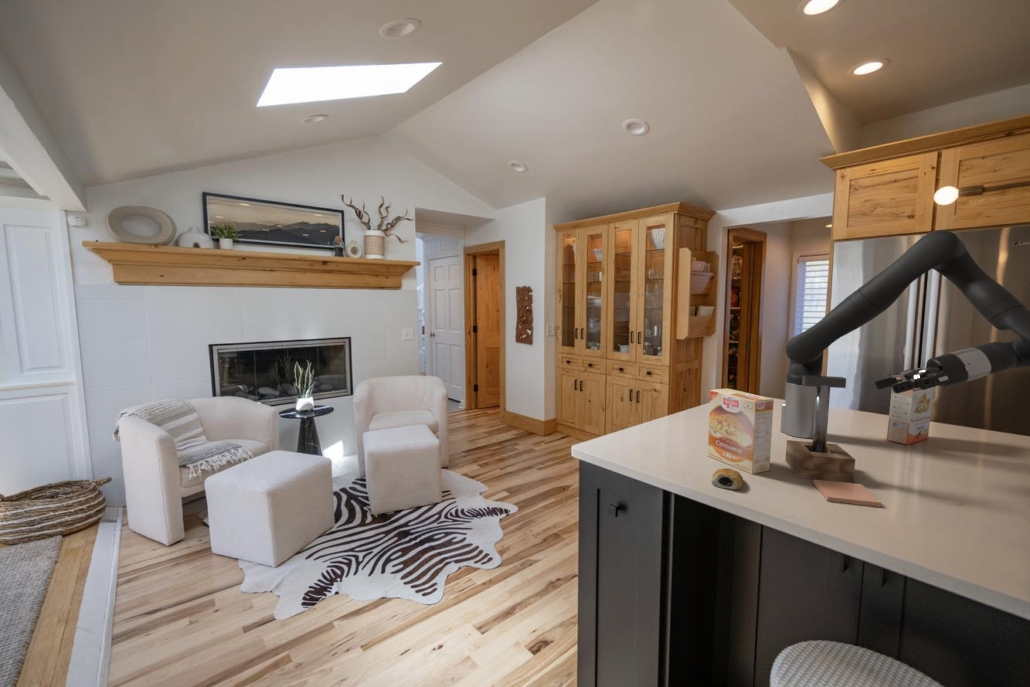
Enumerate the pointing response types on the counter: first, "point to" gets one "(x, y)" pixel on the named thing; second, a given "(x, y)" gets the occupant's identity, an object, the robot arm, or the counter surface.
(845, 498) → the pad
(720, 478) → the pastry
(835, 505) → the counter surface
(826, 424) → the key
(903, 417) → the cracker box
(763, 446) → the coffeecake box
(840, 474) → the block
